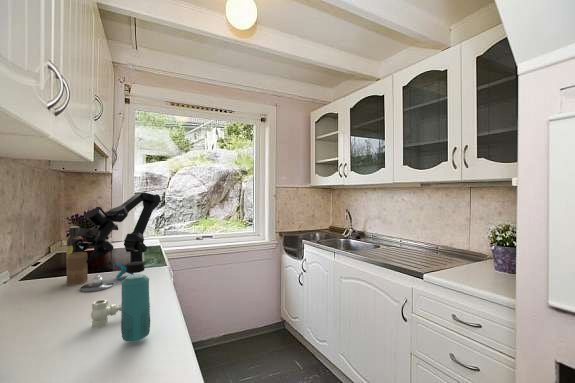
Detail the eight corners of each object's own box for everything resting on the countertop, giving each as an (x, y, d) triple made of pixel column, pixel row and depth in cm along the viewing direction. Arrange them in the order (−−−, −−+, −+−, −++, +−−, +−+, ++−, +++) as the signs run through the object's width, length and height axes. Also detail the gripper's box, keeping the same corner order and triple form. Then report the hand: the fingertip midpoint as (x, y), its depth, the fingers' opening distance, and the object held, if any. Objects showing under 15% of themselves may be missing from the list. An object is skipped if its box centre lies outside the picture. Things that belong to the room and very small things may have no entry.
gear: (138, 275, 120) (119, 261, 116) (128, 287, 117) (107, 273, 113) (134, 273, 128) (116, 259, 125) (124, 284, 125) (105, 270, 122)
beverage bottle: (154, 340, 71) (154, 262, 71) (125, 351, 66) (126, 267, 66) (144, 331, 75) (144, 258, 75) (116, 341, 70) (116, 262, 70)
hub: (76, 287, 110) (76, 276, 109) (108, 280, 118) (108, 270, 118) (84, 294, 102) (84, 282, 102) (117, 286, 110) (117, 275, 110)
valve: (94, 331, 76) (141, 317, 84) (94, 307, 76) (141, 295, 84) (88, 323, 80) (133, 310, 89) (88, 300, 80) (133, 290, 89)
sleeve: (65, 282, 115) (65, 253, 115) (84, 279, 120) (84, 251, 120) (69, 286, 111) (69, 256, 111) (88, 282, 116) (88, 253, 116)
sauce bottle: (81, 267, 139) (81, 227, 138) (65, 268, 135) (65, 228, 135) (82, 264, 144) (82, 225, 144) (67, 265, 141) (67, 226, 141)
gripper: (74, 220, 123) (46, 250, 113) (107, 221, 119) (82, 252, 108) (91, 235, 131) (66, 264, 120) (123, 237, 126) (100, 267, 115)
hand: (78, 262), depth 116 cm, fingers open, 9 cm apart
